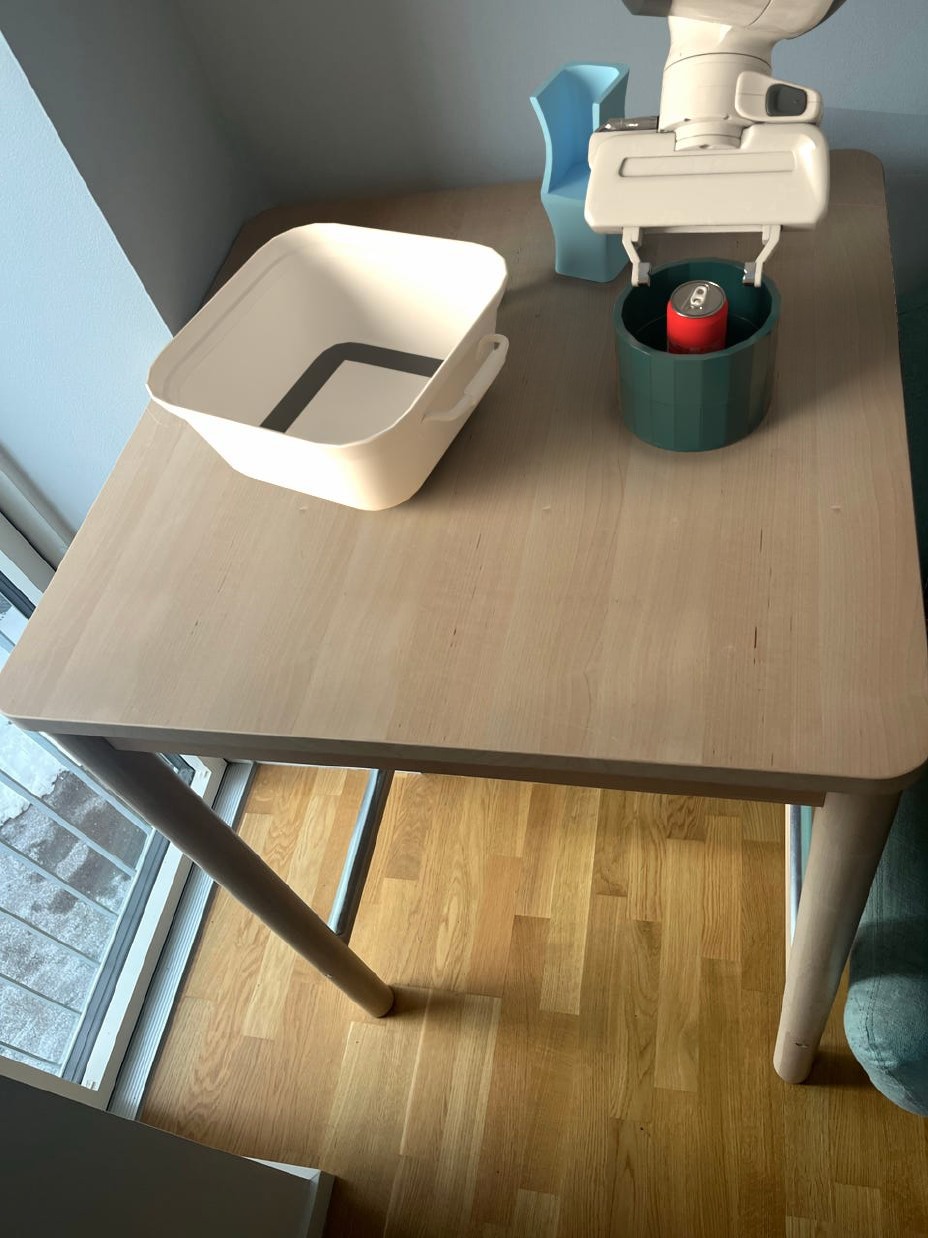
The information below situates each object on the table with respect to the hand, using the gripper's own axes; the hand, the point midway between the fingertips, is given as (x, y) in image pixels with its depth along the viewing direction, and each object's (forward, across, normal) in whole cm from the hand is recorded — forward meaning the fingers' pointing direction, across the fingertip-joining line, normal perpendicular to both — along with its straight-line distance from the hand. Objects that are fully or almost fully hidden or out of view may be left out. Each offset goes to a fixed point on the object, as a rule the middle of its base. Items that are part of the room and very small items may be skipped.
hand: (695, 285), depth 79 cm
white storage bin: (+15, -33, +5) cm, 36 cm away
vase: (-7, -14, +27) cm, 31 cm away
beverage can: (+9, 0, +10) cm, 13 cm away
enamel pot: (+9, 0, +10) cm, 14 cm away
